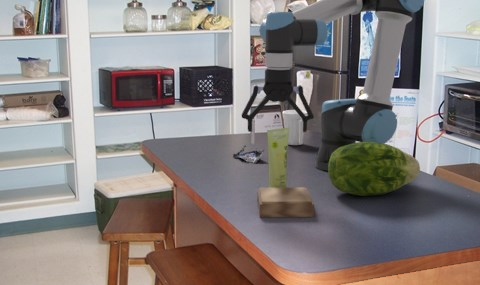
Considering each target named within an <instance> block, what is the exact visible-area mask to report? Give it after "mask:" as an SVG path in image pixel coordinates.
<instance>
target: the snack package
mask: <svg viewBox="0 0 480 285" xmlns="http://www.w3.org/2000/svg"><path fill="white" fill-rule="evenodd" d="M246 148H247V145H243V147H242V149H241V150H240V151H238V152H237V153H233V154H232V156H233V158H236V159H239V158H241V159H242V160H243V161H246V162H248V159H250V158H251V159H250V160H252V159H254V161H253V160H252V162H251V163H252V164H257V163H258V161H259V160H260V158H261V157H262V155H263V153H264V152H265V149H263V150H258V149H256V150H253V151H247V152H245V153H243V152H244V151H245V149H246ZM242 157H249V158H248V159H247V160H246V159H244V158H242Z"/></svg>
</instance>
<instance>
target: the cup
mask: <svg viewBox="0 0 480 285" xmlns="http://www.w3.org/2000/svg"><path fill="white" fill-rule="evenodd" d="M300 110H301V111H302V112H303V113H304V115H308V114H307V112H306V110H303V109H300ZM282 117H283V126H284V127H283V128H287V127H289V136H288V146H289V145H290V146H300V145H302V144H299V120H302V118H301V117H300V116H299V114H298V113H297V112H296V111H295V109H287V110H283V111H282ZM304 135H305V132H303V138H304V137H305V136H304Z"/></svg>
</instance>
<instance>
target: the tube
mask: <svg viewBox="0 0 480 285" xmlns="http://www.w3.org/2000/svg"><path fill="white" fill-rule="evenodd" d="M266 131H267V132H266V135H267V149H268V150H267V151H268V152H267V153H268V183H269V184H268V188H287V176H288V175H287V174H288V173H287V172H288V152H289V149H288V148H289V144H288V136H289V127H287V128H285V127H282V128H275V129H267V130H266Z"/></svg>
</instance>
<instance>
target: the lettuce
mask: <svg viewBox="0 0 480 285" xmlns="http://www.w3.org/2000/svg"><path fill="white" fill-rule="evenodd" d="M420 167H421V166H420V162H419V161H418V160H417V158H415V157H414V156H413V155H411V154H410V153H409V154H408V153H407V152H404V151H402V150H401V149H399V148H398V147H395V146H393V145H390V144H386V143H385V144H383V143H375V142H358V141H356V143H353V144H349V145H346V146H343V147H340V148H338V149H337V150H335V151H334V152H333V153H332V155H331V157H330V160H329V164H328V171H327V172H328V173H327V174H328V178H329V179H330V181H331V184H332V186H333V187H335V188H336V189H337V190H338V191H340V192H343V193H346V194H351V195H354V196H361V197H364V196H365V197H366V196H367V197H368V196H369V197H370V196H379V195H385V194H388V193H391V192H393V191H396V190H398V189H400V188H402V187H403V186H405V185H407V184H410V183H412V182H413V181H414V180H415V179H416V178H417V177H419V175H420V172H421V168H420Z"/></svg>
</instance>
